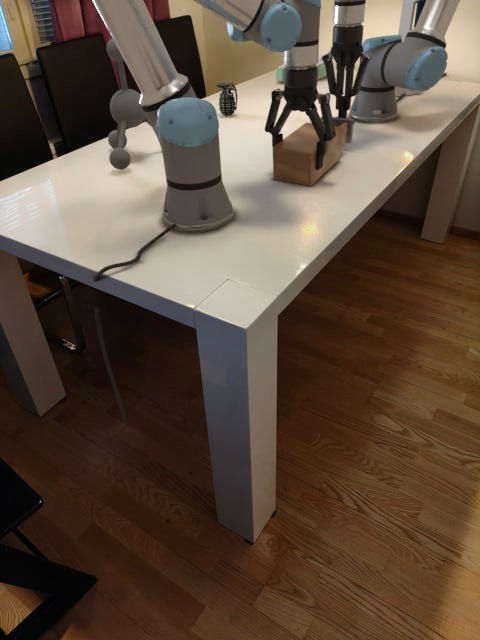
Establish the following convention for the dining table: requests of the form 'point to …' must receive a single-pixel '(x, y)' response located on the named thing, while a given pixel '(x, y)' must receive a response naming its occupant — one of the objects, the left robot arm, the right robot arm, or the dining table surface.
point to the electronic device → (406, 26)
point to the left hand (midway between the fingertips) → (298, 164)
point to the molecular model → (123, 113)
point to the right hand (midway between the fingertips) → (342, 121)
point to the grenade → (227, 99)
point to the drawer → (344, 128)
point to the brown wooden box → (304, 156)
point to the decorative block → (320, 65)
